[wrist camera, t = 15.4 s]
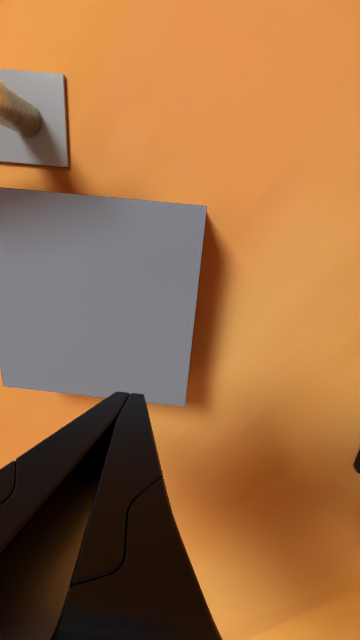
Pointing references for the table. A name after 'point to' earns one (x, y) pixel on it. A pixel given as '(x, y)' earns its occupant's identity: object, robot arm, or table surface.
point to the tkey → (18, 112)
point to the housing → (91, 275)
